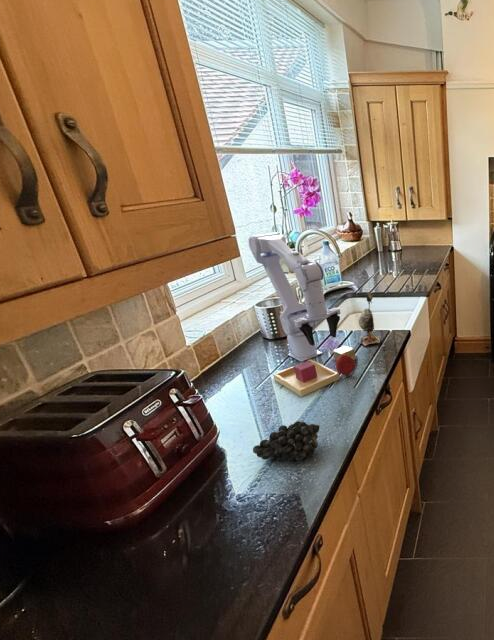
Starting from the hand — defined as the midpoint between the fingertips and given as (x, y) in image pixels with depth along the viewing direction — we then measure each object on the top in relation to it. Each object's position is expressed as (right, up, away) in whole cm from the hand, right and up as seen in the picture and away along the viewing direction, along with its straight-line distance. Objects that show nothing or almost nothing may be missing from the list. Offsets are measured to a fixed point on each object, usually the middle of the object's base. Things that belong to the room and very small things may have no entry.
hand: (322, 340), depth 132 cm
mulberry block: (-3, -12, -5) cm, 13 cm away
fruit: (+9, -25, -38) cm, 46 cm away
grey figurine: (+8, -1, +22) cm, 23 cm away
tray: (-3, -12, -5) cm, 13 cm away
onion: (+9, -11, -3) cm, 15 cm away
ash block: (+5, -7, +7) cm, 11 cm away
